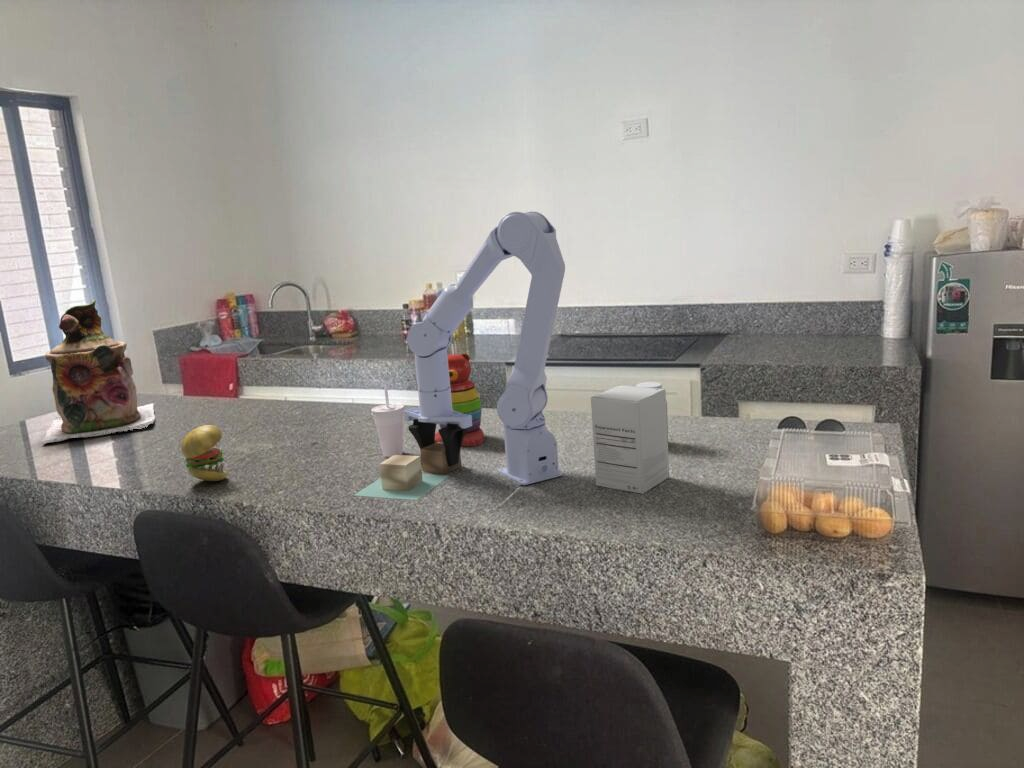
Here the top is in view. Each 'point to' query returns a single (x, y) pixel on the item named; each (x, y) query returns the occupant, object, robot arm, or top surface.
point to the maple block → (401, 472)
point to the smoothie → (389, 426)
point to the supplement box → (630, 438)
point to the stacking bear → (464, 398)
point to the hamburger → (204, 453)
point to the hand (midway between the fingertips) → (441, 462)
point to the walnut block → (436, 459)
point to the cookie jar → (92, 381)
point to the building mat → (413, 494)
